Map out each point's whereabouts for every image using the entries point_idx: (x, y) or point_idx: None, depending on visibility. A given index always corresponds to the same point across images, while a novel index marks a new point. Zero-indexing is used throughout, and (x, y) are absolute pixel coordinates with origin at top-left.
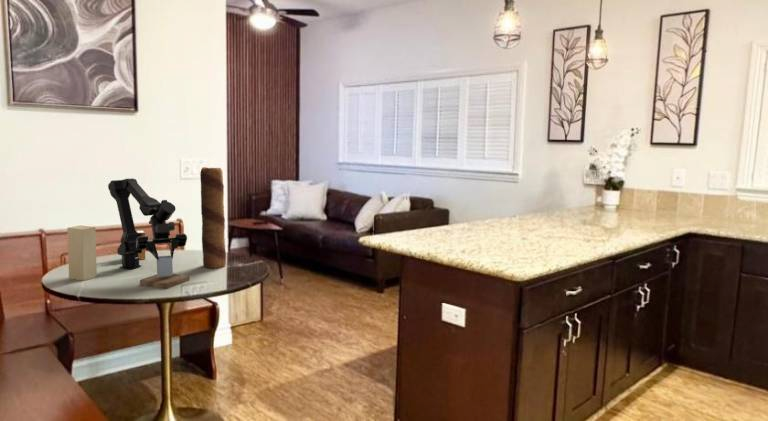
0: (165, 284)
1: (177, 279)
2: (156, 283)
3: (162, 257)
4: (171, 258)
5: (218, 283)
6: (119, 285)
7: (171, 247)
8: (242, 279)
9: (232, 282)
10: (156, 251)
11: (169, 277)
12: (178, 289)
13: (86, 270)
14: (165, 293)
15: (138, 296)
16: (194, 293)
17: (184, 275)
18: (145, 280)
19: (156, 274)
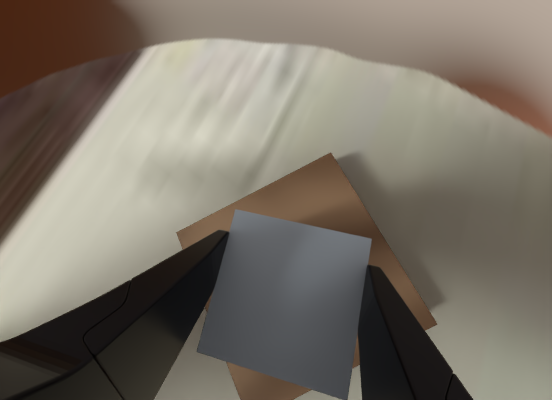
0: (336, 164)
1: (257, 196)
2: (366, 213)
3: (306, 300)
4: (243, 211)
5: (130, 117)
6: (535, 390)
7: (127, 325)
8: (34, 117)
9: (86, 101)
10: (406, 351)
11: None
12: (294, 125)
13: None
14: (363, 100)
15: (480, 119)
16: (270, 44)
17: None
18: (410, 287)
19: (303, 393)
